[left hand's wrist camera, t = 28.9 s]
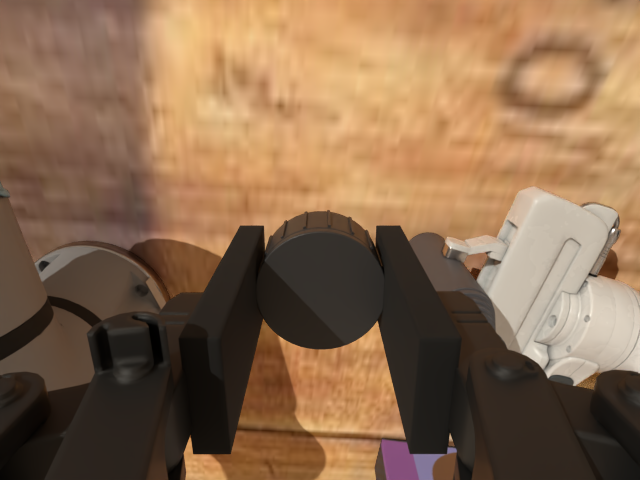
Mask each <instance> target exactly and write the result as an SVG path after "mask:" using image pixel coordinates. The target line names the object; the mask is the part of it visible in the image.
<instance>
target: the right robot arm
mask: <svg viewBox="0 0 640 480" xmlns="http://www.w3.org/2000/svg"><path fill="white" fill-rule="evenodd" d="M619 223H620V219H619V215H618V213H617V212H616V210H614V209H613V208H611V207H609V206H606V205H603V204H600V203H596V202H588V203H584V204H581V205H577V204H575V203H573V202H571V201H569V200H567V199H565V198H562V197H560V196H558V195H556V194H553V193H551V192H549V191H546V190H544V189H541V188H538V187H535V186H531V187H528V188H525V189H523V190H520V191H519V192H518V193H517V195H516V197H515V199H514V202H513V204H512V206H511V208H510V210H509V212H508V214H507V216H506V219H505V221H504V223H503V225H502V227H501V229H500V231H499V233H498V235H497V238H495V237H492V236H489V235H483V236H479V237H475V238H471V239H467V240H465V241H462V240H459V239H456V238H452V237H447V238H446V240H445V242H444V245H443V247H442V250H441V253H443V256H445V257H446V258H448V259H456V261H458V262H462V263H464V261H465V259H466V257H467V255H472V254H477V253H483V252H485V253H486V254H487V255H488V257H487V259H486V261H485V263H484V265H483V267H482V269H481V271H480V274H479V276H478V278H477V280H476V281H477V283H478V284H479V285H480V286H481V288H482V289H483V290H484V292H485V293H486V294H487V296H488V297H489V298H490V300H491V302H492V304H493V307H494V310H495V324H496V326H495V327H496V333H497V334H498V335H499V336H500V337H501V338H502V340H503V341H504V342H505V344H506V346H507V349H508V350H513V351H516V352H518V353H521V354H523V355H526V356H528V357H529V358H531V359H532V360H534V361H535V362H537V363H538V364H539V365H540V366H541V368H542V369H543V370H544V372H545V373H546V375H547V377H548V379H549V380H551V381H555V382H558V383H562V384H567V385H572V386H576V385H577V384H579V383H580V382H582V381H583V380H585V379H586V378H588V377H589V376H591V375H592V374H594V373H602V372H604V371H609V370H627V371H635V372H638V373H640V291H637V290H635V289H634V288H632V287H631V286H629V285H627V284H625V283H623V282H620V281H618V280H614V279H611V278H607V277H604V276H601V275H597V274H598V273H599V271H600V269H601V267H602V266H603V264H604V262H605V260H606V258H607V256H608V253H609V251H610V248H612V246H613V244H615V243H616V241H617V240H618V238H619V236H620V233H621V230H620V229H618V227H619Z"/></svg>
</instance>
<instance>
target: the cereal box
mask: <svg viewBox="0 0 640 480" xmlns="http://www.w3.org/2000/svg"><path fill="white" fill-rule="evenodd" d="M456 453H457V450H456V447H452V446H448V450H447V454H410V453H409V449H408V445H407V441H401V440H393V439H384V438H382V440H381V444H380V448H379V452H378V457H377V461H376V465H375V474H376V480H453V475H454V468H455V461H456Z"/></svg>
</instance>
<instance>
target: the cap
mask: <svg viewBox="0 0 640 480" xmlns="http://www.w3.org/2000/svg"><path fill="white" fill-rule="evenodd" d="M384 278H385V275H384V272H383V265H382V262H381V259H380V256H379V253H378V250H377V248H375V245H374V243H373V241H372V239H371V238H370V236H369V233H368V231H367V230H366V231H365V230H364V229H363V228H362V227H361V226H360V225H359V224H357V223H356V222H355V221H353V220H352V218H351V217H345V216H343V215H340V214H337V213H333V212H330V211H329V210H327V212H324V211H317V212H309V213H307V212H305V213H304V214H302V215H299V216H296V217H294V218H292V219H291V220H289V221H287V220H286V221H284V224H283V225H282V226H281V227H280V228H279V229H278V230H277V231H276V232H275V233H274V235H273V236H270V237H269V241H268V244H267V247H266V250H265V253H264V256H263V259H262V262H261V265H260V268H259V271H258V276H257V280H256V292H257V305H258V308H259V311H260V313H261V315H262V317H263V319H264V320H265V322H266V323H267V324H268V326H269V327H270V328H271V329H272V330H273V331H274V332H275V333H276V334H278V335H279V336H280V337H282V338H283V339H285V340H286V341H288V342H290V343H292V344H295V345H298V346H301V347H305V348H310V349H333V348H337V347H341V346H344V345H347V344H349V343H352V342H354V341H356V340H357V339H359V338H360V337H362V336H363V335H364V334H366V333H367V332H368V331H369V330H370V329H371V328H372V327H373V326H374V324H375V323H376V322H377V320H378V319H379V317H380V315H381V313H382V311H383V297H384Z"/></svg>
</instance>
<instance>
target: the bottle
mask: <svg viewBox="0 0 640 480" xmlns="http://www.w3.org/2000/svg"><path fill="white" fill-rule="evenodd" d="M444 242H445V240H444V239H443V238H442V237H441V236H439V235H437V234H435V233H422V234H419V235H417V236H415V237H413V238H412V239H411V240H410V241H409V243H410V245H411V247H412V248H413V250H414V252H415V254H416V256H417V258H418V259H419V261H420V263H421V265H422V267H423V268H424V270H425V272H426V274H427V276H428V278H429V279H430V281H431V283H432V285H433V287H434V288H435V290H436V291H460V292H461V293H463V294H464V295H466V296H468V297H469V298H471V299H472V300H474V302H475V303H476V304H477V306H478V307H479V309H480V310H481V313H482V314H484V316H485V317H486V319H487V320H488V323H490V324H491V326H492V327H493V329H494V330H495V332H496V327H495V326H496V324H495V310H494V307H493V304H492V302H491V300H490V298H489V297H488V296H487V294H486V293H485V292H484V290H483V289H482V288H481V286H480V285H479V284H478V283H477V281H476V280H475V279H474V277H473V276H472V275H471V273H470V272H469V271H468V270H467V268H466V267H465V266H464V264H463V263H462V262H458V261H456V259H448V258H446V257H445V256H443V253H441V250H442V247H443V245H444ZM498 336H499V335H498ZM499 337H500V336H499ZM500 339H501V340H502V338H501V337H500ZM502 342H503V343H504V344H505V342H504V341H503V340H502ZM505 346H506V344H505ZM506 347H507V346H506Z"/></svg>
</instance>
